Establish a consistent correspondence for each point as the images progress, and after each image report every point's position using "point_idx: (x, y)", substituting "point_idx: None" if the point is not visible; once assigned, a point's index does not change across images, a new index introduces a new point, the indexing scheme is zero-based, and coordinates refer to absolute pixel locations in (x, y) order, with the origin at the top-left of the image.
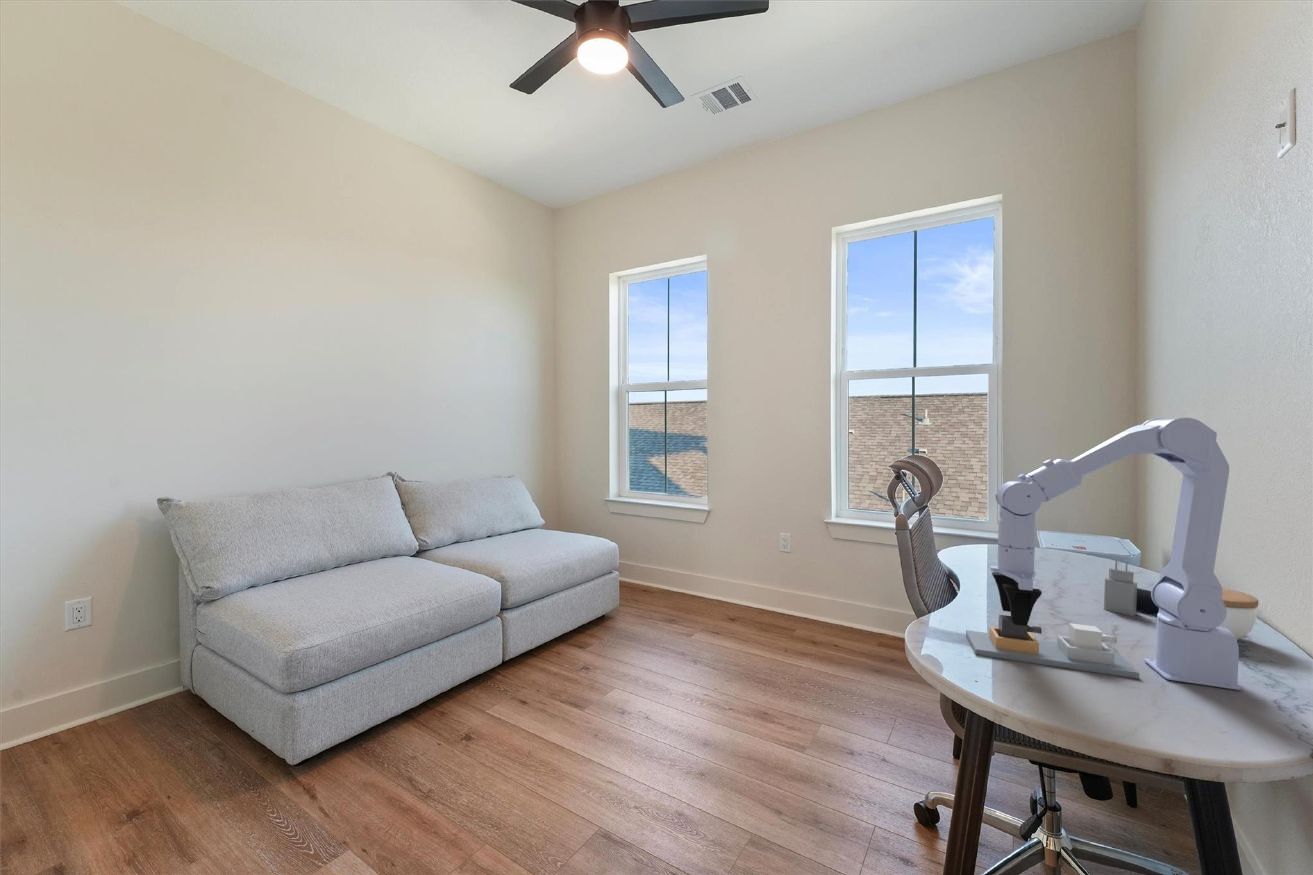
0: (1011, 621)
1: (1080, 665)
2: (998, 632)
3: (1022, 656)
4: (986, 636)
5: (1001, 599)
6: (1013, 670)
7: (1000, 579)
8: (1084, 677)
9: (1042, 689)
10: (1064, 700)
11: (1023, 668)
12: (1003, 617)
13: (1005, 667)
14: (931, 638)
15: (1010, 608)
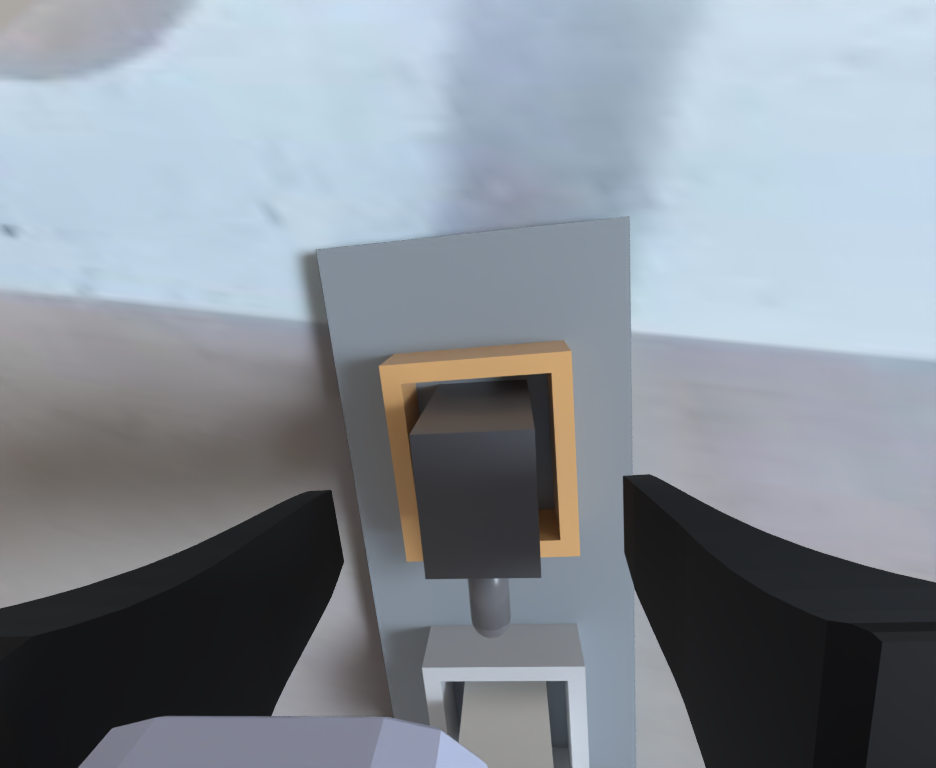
0: (416, 488)
1: (382, 648)
2: (525, 391)
3: (350, 456)
4: (561, 326)
5: (657, 507)
6: (229, 395)
7: (784, 674)
8: (319, 626)
9: (104, 466)
10: (58, 515)
11: (278, 438)
12: (469, 450)
13: (244, 368)
14: (457, 5)
15: (243, 533)
